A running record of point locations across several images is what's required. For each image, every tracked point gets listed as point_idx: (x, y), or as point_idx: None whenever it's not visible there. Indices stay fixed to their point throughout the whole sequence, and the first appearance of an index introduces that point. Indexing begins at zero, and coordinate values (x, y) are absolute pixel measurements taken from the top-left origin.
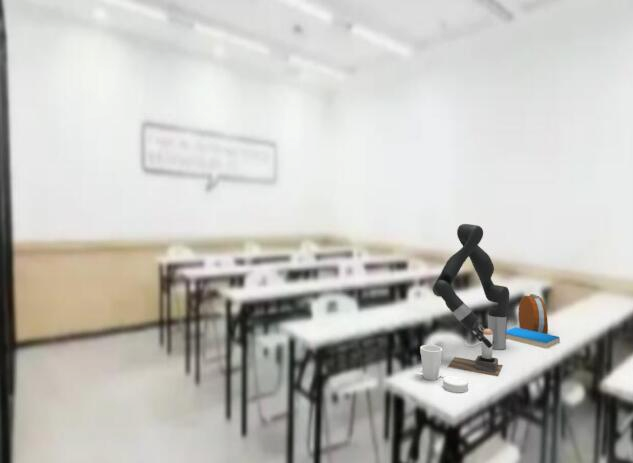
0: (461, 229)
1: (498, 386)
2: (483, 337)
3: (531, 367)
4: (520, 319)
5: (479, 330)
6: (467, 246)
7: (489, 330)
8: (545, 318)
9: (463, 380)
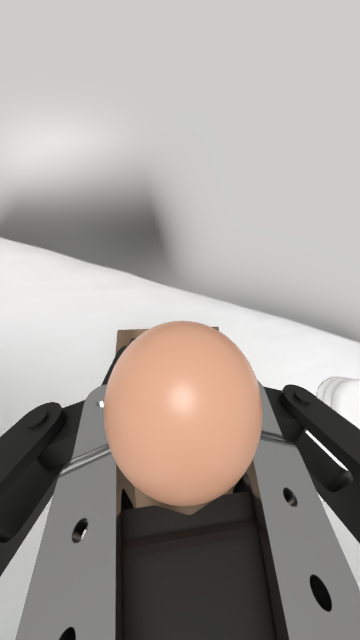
0: None
1: (259, 320)
2: (321, 401)
3: (83, 271)
4: None
5: (347, 612)
6: None
7: (229, 356)
8: None
9: (356, 396)
